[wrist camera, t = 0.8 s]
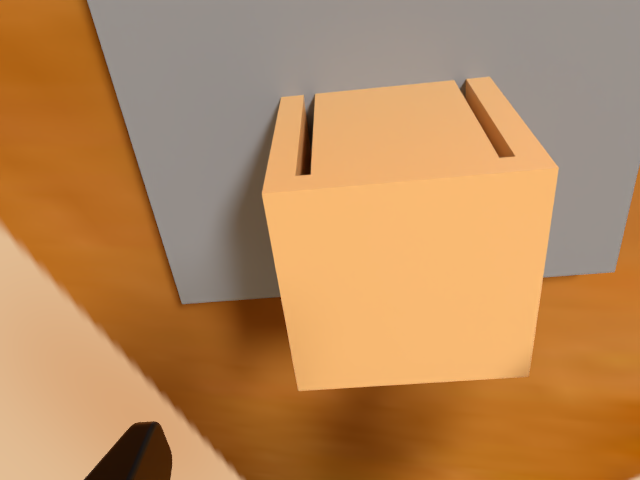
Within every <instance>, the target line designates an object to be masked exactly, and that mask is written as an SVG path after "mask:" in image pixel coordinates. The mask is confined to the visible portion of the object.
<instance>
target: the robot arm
mask: <svg viewBox="0 0 640 480" xmlns="http://www.w3.org/2000/svg"><path fill="white" fill-rule="evenodd" d="M171 469H172V454H171V450H170V447H169V445H168V442H167V440H166V437H165V435H164V432H163V430H162V427H161V425H160V424H159V423H157V422H139V423H135V424H133V425H132V426H131V427H130V428H129V429H128V430H127V431H126V432H125V433H124V434H123V436H122V437H121V438H120V439H119V440H118V441H117V442H116V444H115V445H114V446H113V447H112V448H111V449H110V451H109V452H108V453H107V454H106V455H105V456H104V457H103V458H102V460H101V461H100V462H99V463H98V464H97V465H96V466H95V468H94V469H93V470H92V471H91V472H90V473H89V475H88V476H87V477H86V478H85V479H84V480H170V477H171Z"/></svg>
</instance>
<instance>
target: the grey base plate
mask: <svg viewBox="0 0 640 480" xmlns="http://www.w3.org/2000/svg"><path fill="white" fill-rule="evenodd" d="M87 2H88V5H89V8H90V12H91V15H92V18H93V21H94V24H95V27H96V31H97V34H98V37H99V40H100V43H101V47H102V50H103V53H104V56H105V59H106V63H107V66H108V69H109V72H110V75H111V79H112V82H113V85H114V88H115V91H116V95H117V98H118V101H119V104H120V107H121V111H122V114H123V117H124V120H125V123H126V127H127V130H128V133H129V136H130V139H131V143H132V146H133V149H134V152H135V155H136V159H137V162H138V165H139V168H140V171H141V175H142V178H143V181H144V184H145V187H146V190H147V194H148V197H149V200H150V203H151V206H152V210H153V213H154V216H155V219H156V222H157V226H158V229H159V232H160V235H161V238H162V242H163V245H164V248H165V251H166V254H167V258H168V261H169V264H170V267H171V270H172V274H173V277H174V280H175V283H176V286H177V290H178V293H179V296H180V299H181V302H182V304H191V303H204V302H218V301H231V300H245V299H258V298H272V297H281V295H280V290H279V284H278V279H277V273H276V268H275V263H274V257H273V252H272V246H271V241H270V236H269V230H268V225H267V219H266V214H265V209H264V203H263V198H262V190H263V185H264V180H265V175H266V170H267V165H268V160H269V155H270V150H271V145H272V140H273V135H274V130H275V125H276V120H277V115H278V110H279V105H280V100H281V97H288V96H298V95H304V101H305V109H306V117H307V125H308V133H309V141H310V149H311V157H312V141H313V124H314V106H315V94H318V93H328V92H339V91H349V90H359V89H369V88H379V87H389V86H400V85H410V84H420V83H430V82H440V81H450V80H455V82H456V84H457V86H458V87H459V89H460V91H461V93H462V94H463V96H464V98H465V94H466V79H471V78H481V77H490V78H491V79H492V80H493V81H494V83H495V84H496V85H497V87H498V88H499V89H500V91H501V92H502V93H503V95H504V96H505V97H506V99H507V100H508V101H509V103H510V104H511V105H512V107H513V108H514V109H515V111H516V112H517V113H518V115H519V116H520V117H521V118H522V120H523V121H524V122H525V124H526V125H527V126H528V128H529V129H530V130H531V132H532V133H533V134H534V136H535V137H536V138H537V140H538V141H539V142H540V144H541V145H542V146H543V148H544V149H545V150H546V152H547V153H548V154H549V156H550V157H551V158H552V159H553V161H554V162H555V163H556V165H557V166H558V167H559V170H558V177H557V184H556V191H555V198H554V205H553V212H552V219H551V226H550V233H549V240H548V247H547V254H546V261H545V268H544V274H543V277H555V276H569V275H582V274H596V273H609V272H615V268H616V264H617V260H618V255H619V251H620V247H621V242H622V238H623V234H624V229H625V225H626V221H627V216H628V212H629V208H630V203H631V199H632V195H633V190H634V186H635V182H636V177H637V173H638V169H639V164H640V0H87Z"/></svg>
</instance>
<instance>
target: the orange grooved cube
mask: <svg viewBox="0 0 640 480" xmlns="http://www.w3.org/2000/svg"><path fill="white" fill-rule="evenodd" d="M558 170H559V167H558V166H557V165H556V163H555V162H554V161H553V159H552V158H551V157H550V156H549V154H548V153H547V152H546V150H545V149H544V148H543V146H542V145H541V144H540V142H539V141H538V140H537V138H536V137H535V136H534V134H533V133H532V132H531V130H530V129H529V128H528V126H527V125H526V124H525V122H524V121H523V120H522V118H521V117H520V116H519V115H518V113H517V112H516V111H515V109H514V108H513V107H512V105H511V104H510V103H509V101H508V100H507V99H506V97H505V96H504V95H503V93H502V92H501V91H500V89H499V88H498V87H497V85H496V84H495V83H494V81H493V80H492V79H491V78H490V77H481V78H471V79H466V94H465V98H464V96H463V94H462V93H461V91H460V89H459V87H458V86H457V84H456V82H455V80H450V81H440V82H430V83H420V84H410V85H400V86H389V87H379V88H369V89H359V90H349V91H339V92H328V93H318V94H315V106H314V124H313V141H312V157H311V149H310V141H309V133H308V125H307V117H306V109H305V101H304V95H298V96H288V97H281V100H280V105H279V110H278V115H277V120H276V125H275V130H274V135H273V140H272V145H271V150H270V155H269V160H268V165H267V170H266V175H265V180H264V185H263V190H262V198H263V203H264V209H265V214H266V219H267V225H268V230H269V236H270V241H271V246H272V252H273V257H274V263H275V268H276V273H277V279H278V284H279V290H280V295H281V301H282V306H283V311H284V317H285V322H286V328H287V333H288V338H289V344H290V349H291V355H292V360H293V365H294V371H295V376H296V382H297V387H298V391H307V390H323V389H339V388H355V387H371V386H387V385H403V384H419V383H435V382H451V381H467V380H483V379H499V378H515V377H529V372H530V365H531V358H532V351H533V344H534V337H535V330H536V323H537V316H538V309H539V302H540V295H541V288H542V281H543V274H544V268H545V261H546V254H547V247H548V240H549V233H550V226H551V219H552V212H553V205H554V198H555V191H556V184H557V177H558Z"/></svg>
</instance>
